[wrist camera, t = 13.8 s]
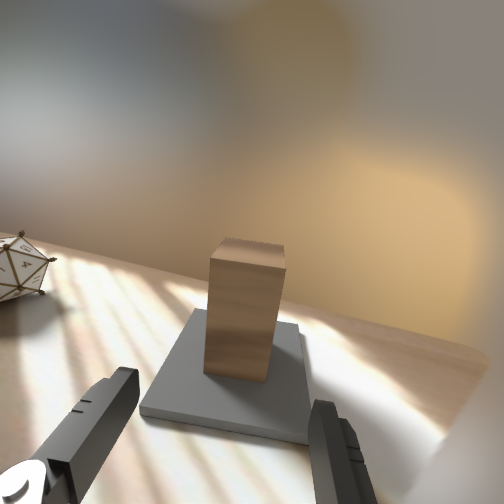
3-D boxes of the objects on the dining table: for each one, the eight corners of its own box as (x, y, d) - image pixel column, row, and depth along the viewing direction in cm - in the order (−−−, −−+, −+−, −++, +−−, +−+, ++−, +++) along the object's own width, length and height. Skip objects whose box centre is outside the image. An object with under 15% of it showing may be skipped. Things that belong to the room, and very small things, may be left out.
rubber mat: (312, 446, 17) (314, 436, 17) (139, 414, 18) (139, 405, 17) (296, 330, 29) (297, 324, 29) (194, 314, 30) (195, 308, 30)
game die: (33, 326, 30) (42, 288, 24) (-71, 318, 25) (-90, 268, 19) (57, 269, 35) (69, 227, 30) (-24, 253, 31) (-28, 200, 25)
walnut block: (264, 383, 20) (286, 268, 17) (203, 373, 21) (210, 257, 17) (266, 340, 26) (283, 245, 22) (217, 332, 26) (225, 237, 22)
